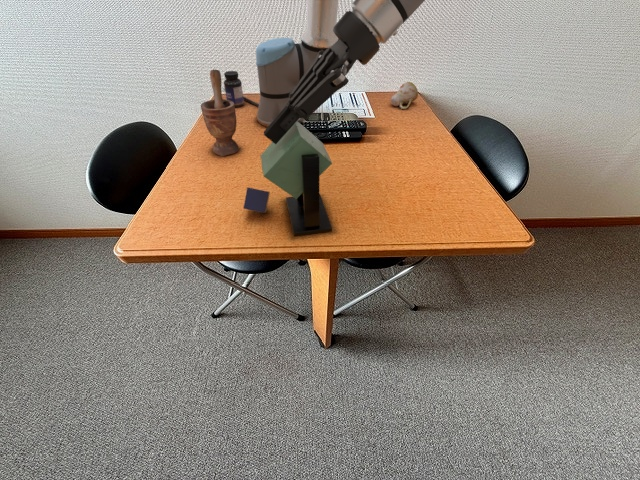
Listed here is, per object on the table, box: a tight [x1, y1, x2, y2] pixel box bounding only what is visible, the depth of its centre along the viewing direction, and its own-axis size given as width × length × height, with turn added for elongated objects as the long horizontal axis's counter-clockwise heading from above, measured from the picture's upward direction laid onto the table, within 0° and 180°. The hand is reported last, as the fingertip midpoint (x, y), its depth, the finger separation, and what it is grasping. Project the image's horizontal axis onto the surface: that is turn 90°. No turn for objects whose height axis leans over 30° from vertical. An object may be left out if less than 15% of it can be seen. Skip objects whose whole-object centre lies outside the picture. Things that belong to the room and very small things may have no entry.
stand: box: [285, 154, 333, 237], centre depth 69 cm, size 8×13×17 cm, turn 11°
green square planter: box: [260, 121, 333, 199], centre depth 65 cm, size 8×8×10 cm
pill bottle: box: [223, 70, 245, 108], centre depth 122 cm, size 6×6×11 cm
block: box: [243, 187, 271, 214], centre depth 73 cm, size 4×4×4 cm
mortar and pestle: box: [200, 69, 240, 157], centre depth 93 cm, size 12×9×20 cm
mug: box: [390, 81, 419, 110], centre depth 124 cm, size 8×10×10 cm
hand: (269, 138), depth 62 cm, fingers closed
